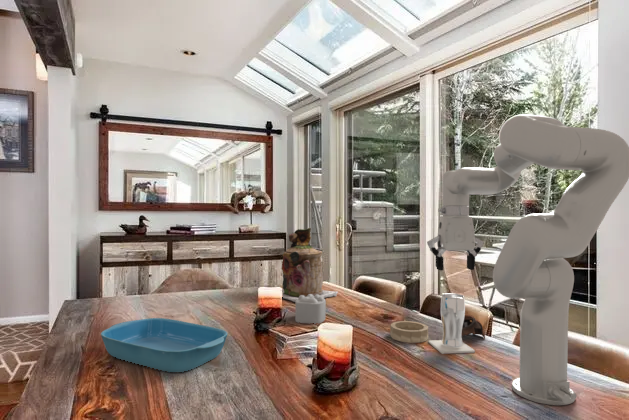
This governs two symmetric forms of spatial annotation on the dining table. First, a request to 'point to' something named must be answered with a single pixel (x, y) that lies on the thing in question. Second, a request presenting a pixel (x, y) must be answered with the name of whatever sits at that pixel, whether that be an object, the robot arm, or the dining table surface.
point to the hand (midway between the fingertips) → (455, 269)
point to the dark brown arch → (472, 326)
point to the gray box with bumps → (310, 309)
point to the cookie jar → (302, 268)
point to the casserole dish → (164, 343)
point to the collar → (409, 331)
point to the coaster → (445, 350)
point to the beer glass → (452, 319)
